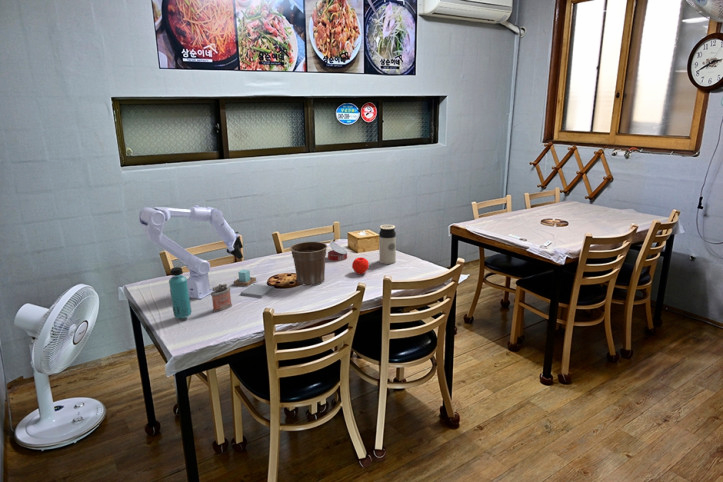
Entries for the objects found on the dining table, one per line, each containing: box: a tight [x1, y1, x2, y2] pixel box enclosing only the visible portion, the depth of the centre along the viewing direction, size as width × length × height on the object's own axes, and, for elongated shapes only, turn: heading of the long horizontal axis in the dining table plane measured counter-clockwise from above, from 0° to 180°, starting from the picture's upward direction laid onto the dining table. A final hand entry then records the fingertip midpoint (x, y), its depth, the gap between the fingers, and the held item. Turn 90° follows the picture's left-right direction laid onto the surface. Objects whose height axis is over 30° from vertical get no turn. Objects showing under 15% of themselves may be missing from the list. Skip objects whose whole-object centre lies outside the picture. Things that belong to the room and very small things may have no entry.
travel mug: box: [378, 224, 397, 265], centre depth 235 cm, size 8×8×18 cm
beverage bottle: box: [168, 266, 192, 319], centre depth 177 cm, size 6×7×20 cm
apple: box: [351, 257, 370, 275], centre depth 221 cm, size 8×8×7 cm
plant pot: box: [289, 241, 328, 287], centre depth 212 cm, size 16×16×16 cm
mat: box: [240, 283, 275, 298], centre depth 204 cm, size 10×10×1 cm
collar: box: [233, 276, 257, 287], centre depth 213 cm, size 7×7×2 cm
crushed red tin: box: [210, 282, 233, 313], centre depth 187 cm, size 8×3×10 cm, turn 141°
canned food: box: [327, 240, 348, 262], centre depth 244 cm, size 11×10×10 cm
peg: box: [237, 269, 251, 282], centre depth 213 cm, size 4×4×6 cm
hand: (240, 252), depth 214 cm, fingers open, 7 cm apart
